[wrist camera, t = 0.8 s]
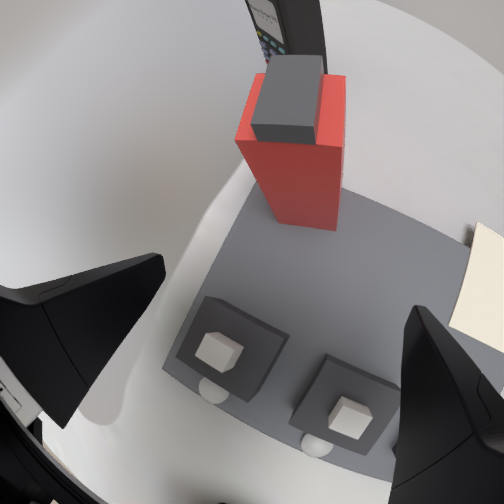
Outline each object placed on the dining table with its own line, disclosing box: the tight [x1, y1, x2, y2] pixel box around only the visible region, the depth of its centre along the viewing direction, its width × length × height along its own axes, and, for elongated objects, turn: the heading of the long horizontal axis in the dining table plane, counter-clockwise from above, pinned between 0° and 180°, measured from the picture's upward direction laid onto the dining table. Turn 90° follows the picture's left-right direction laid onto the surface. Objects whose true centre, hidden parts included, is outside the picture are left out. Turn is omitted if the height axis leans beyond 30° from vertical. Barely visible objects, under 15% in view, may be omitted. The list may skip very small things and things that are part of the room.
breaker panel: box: [162, 181, 504, 483], centre depth 16 cm, size 22×28×6 cm
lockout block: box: [235, 55, 346, 231], centre depth 15 cm, size 5×4×12 cm
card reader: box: [245, 0, 328, 74], centre depth 20 cm, size 9×4×15 cm, turn 26°
